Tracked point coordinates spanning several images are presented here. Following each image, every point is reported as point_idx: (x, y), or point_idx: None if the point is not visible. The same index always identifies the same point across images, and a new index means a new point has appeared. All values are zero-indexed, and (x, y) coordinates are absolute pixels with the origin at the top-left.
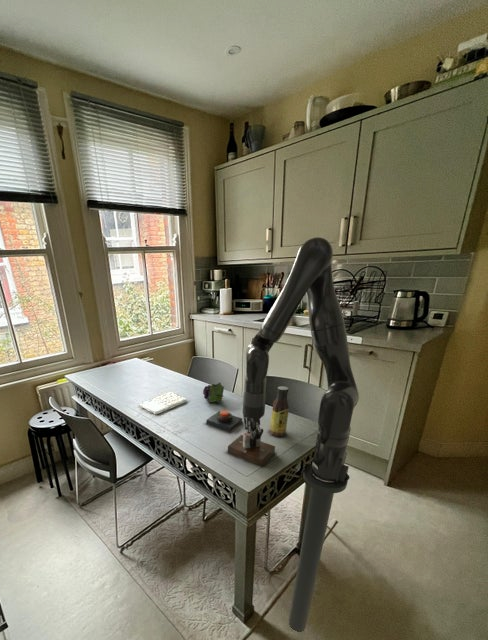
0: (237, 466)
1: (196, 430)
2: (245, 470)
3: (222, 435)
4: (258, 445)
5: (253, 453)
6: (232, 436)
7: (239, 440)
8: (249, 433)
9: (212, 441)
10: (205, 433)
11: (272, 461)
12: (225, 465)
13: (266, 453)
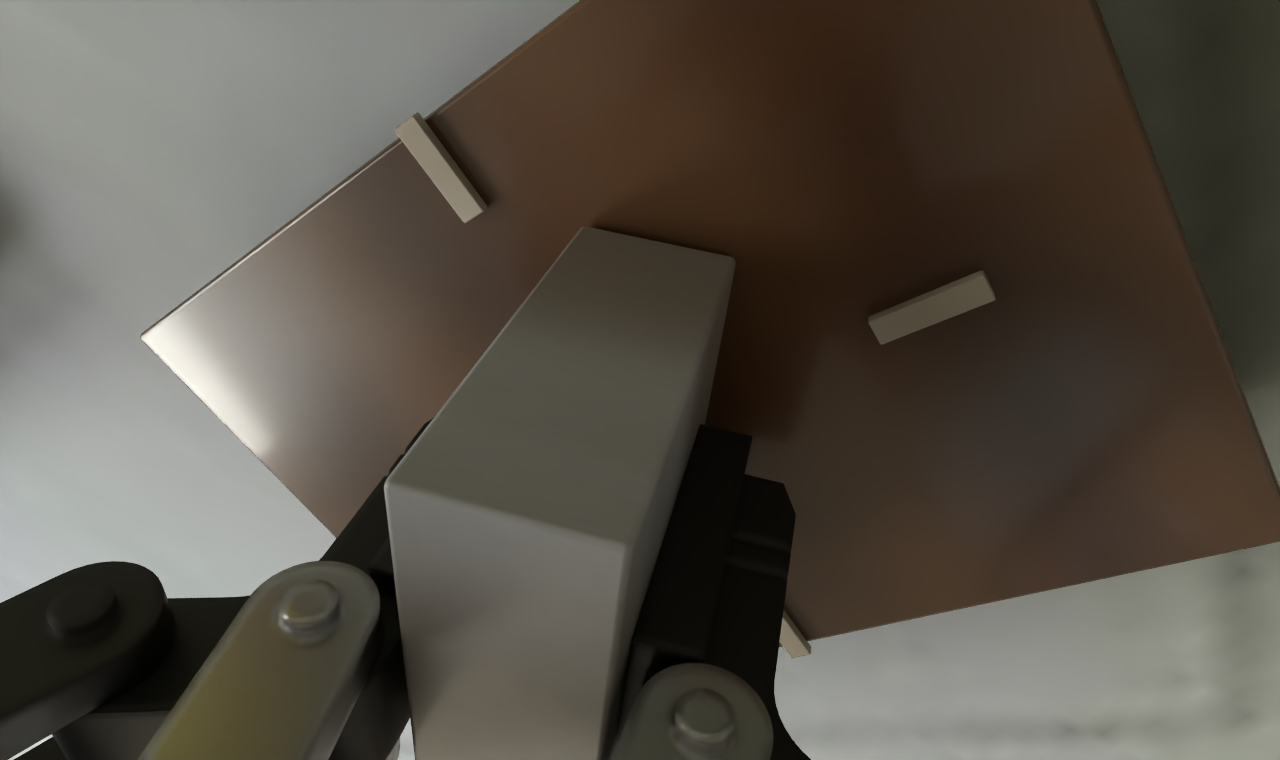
0: (924, 675)
1: (4, 598)
2: (1093, 657)
3: (87, 422)
4: (720, 323)
5: (932, 552)
6: (104, 310)
7: (364, 491)
8: (430, 749)
9: (245, 591)
10: (59, 560)
11: (1255, 64)
12: (815, 750)
13: (1151, 303)
